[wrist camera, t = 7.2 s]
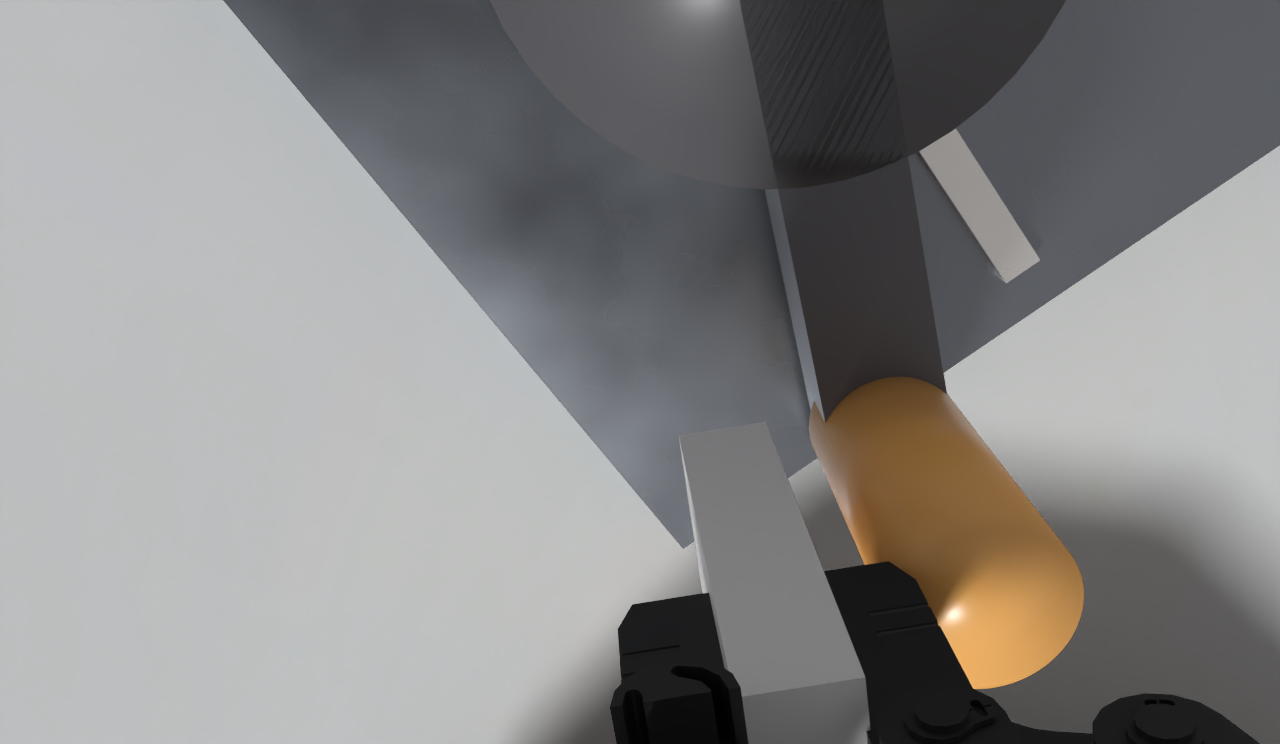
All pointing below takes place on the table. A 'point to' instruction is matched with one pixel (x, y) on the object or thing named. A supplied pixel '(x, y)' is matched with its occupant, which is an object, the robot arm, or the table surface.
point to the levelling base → (763, 201)
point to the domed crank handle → (844, 254)
